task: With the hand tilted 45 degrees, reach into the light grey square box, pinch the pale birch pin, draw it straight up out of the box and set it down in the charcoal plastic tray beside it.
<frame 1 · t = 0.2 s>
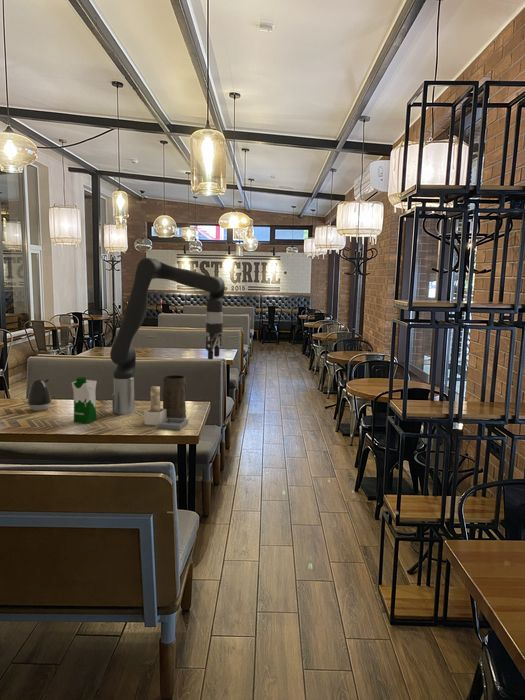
hand: (213, 357, 217), 29 cm above the table, tool pointing down, fingers open, 8 cm apart
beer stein: (176, 417, 225), on the table
birch pin: (155, 422, 214), resting on light grey square box
milk carton: (85, 421, 215), on the table
light grey square box: (155, 423, 214), on the table
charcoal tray: (173, 427, 209), on the table
dark grey rounded piece: (40, 410, 232), on the table
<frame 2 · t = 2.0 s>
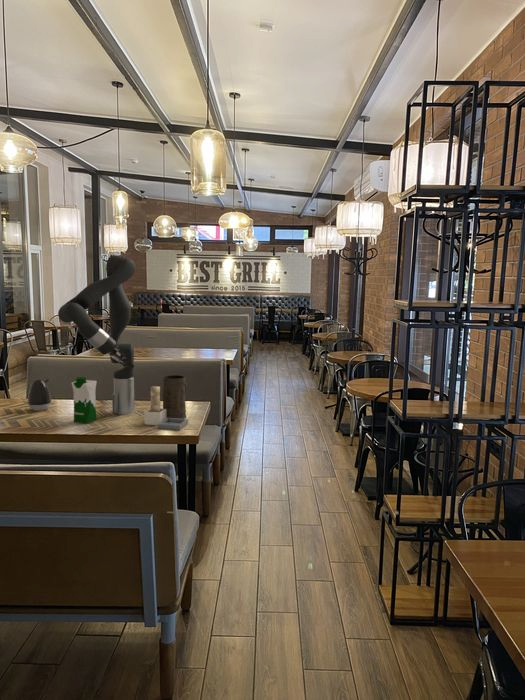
hand: (129, 366, 204), 27 cm above the table, tool tilted 45°, fingers open, 8 cm apart
nothing on the table moved.
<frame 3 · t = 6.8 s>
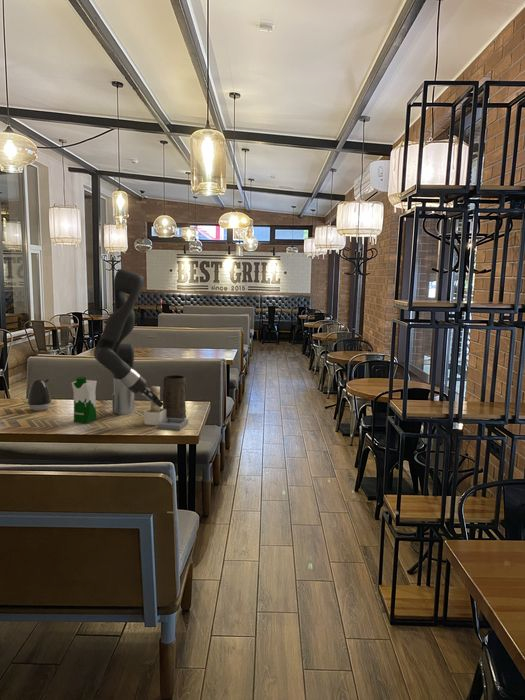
hand: (159, 404, 214), 9 cm above the table, tool tilted 45°, fingers closed on birch pin, 4 cm apart
birch pin: (155, 422, 214), point 1 cm above the table, touching light grey square box, gripper
everything else where it was.
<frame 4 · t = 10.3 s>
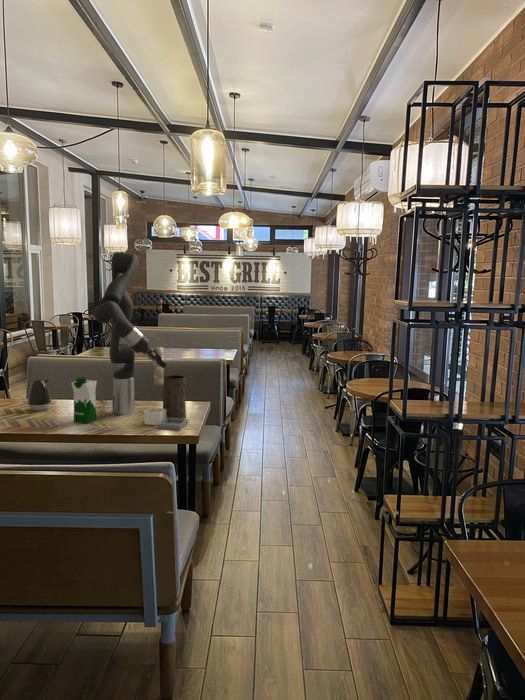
hand: (162, 365, 210), 26 cm above the table, tool tilted 45°, fingers closed on birch pin, 4 cm apart
birch pin: (158, 384, 210), point 18 cm above the table, touching gripper
everything else where it was.
when the fingers open (10 cm above the table, at t = 14.1 s): birch pin drops 1 cm, resting on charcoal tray.
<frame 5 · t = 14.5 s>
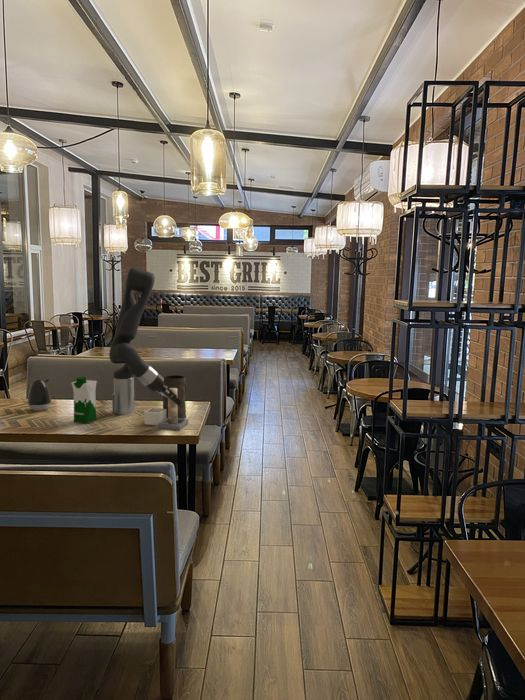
hand: (176, 401, 208), 11 cm above the table, tool tilted 45°, fingers open, 7 cm apart
birch pin: (173, 424, 209), point 1 cm above the table, touching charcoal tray
everything else where it was.
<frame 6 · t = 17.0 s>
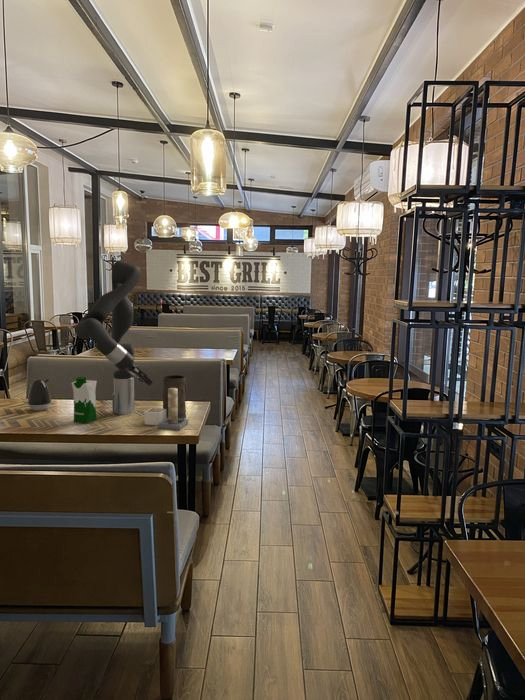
hand: (147, 382, 200), 21 cm above the table, tool tilted 45°, fingers open, 8 cm apart
nothing on the table moved.
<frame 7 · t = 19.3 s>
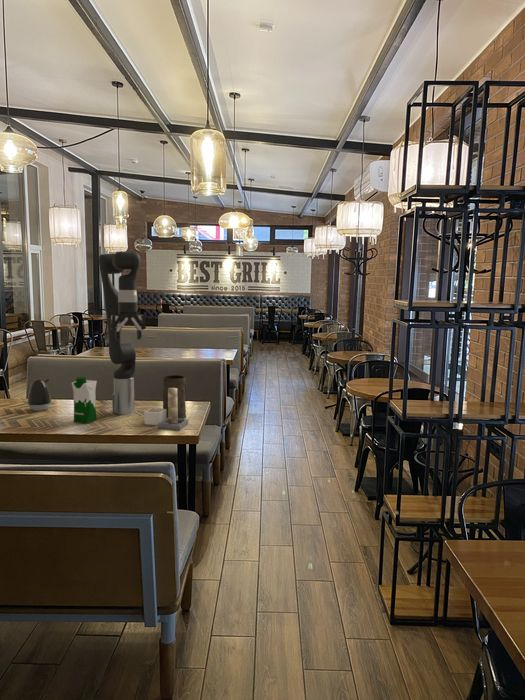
hand: (128, 340, 201), 38 cm above the table, tool pointing down, fingers open, 8 cm apart
nothing on the table moved.
at the end: birch pin inside the target area on the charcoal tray (0.1 cm from its centre), point 1.1 cm above the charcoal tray's base; the gripper is holding nothing; birch pin moved 10.0 cm from its start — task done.
